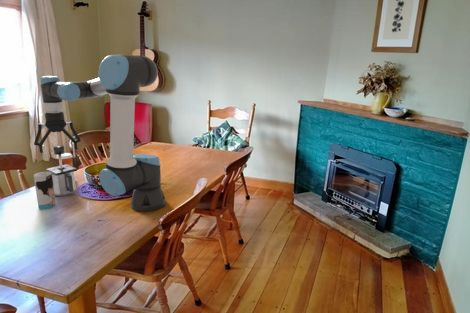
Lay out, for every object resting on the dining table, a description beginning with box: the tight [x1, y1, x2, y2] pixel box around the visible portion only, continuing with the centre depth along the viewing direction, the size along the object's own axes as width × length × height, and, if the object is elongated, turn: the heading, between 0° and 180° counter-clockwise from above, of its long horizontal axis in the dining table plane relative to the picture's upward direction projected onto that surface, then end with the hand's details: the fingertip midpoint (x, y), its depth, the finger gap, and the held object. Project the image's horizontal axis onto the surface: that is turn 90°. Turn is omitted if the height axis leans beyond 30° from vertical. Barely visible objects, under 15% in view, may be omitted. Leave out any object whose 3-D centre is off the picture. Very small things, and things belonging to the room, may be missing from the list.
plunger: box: [52, 145, 66, 170], centre depth 155 cm, size 7×7×21 cm
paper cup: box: [56, 152, 74, 167], centre depth 173 cm, size 8×8×14 cm
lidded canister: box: [45, 164, 78, 198], centre depth 156 cm, size 13×10×12 cm
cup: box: [33, 171, 57, 211], centre depth 141 cm, size 7×7×15 cm
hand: (60, 157), depth 153 cm, fingers open, 12 cm apart
